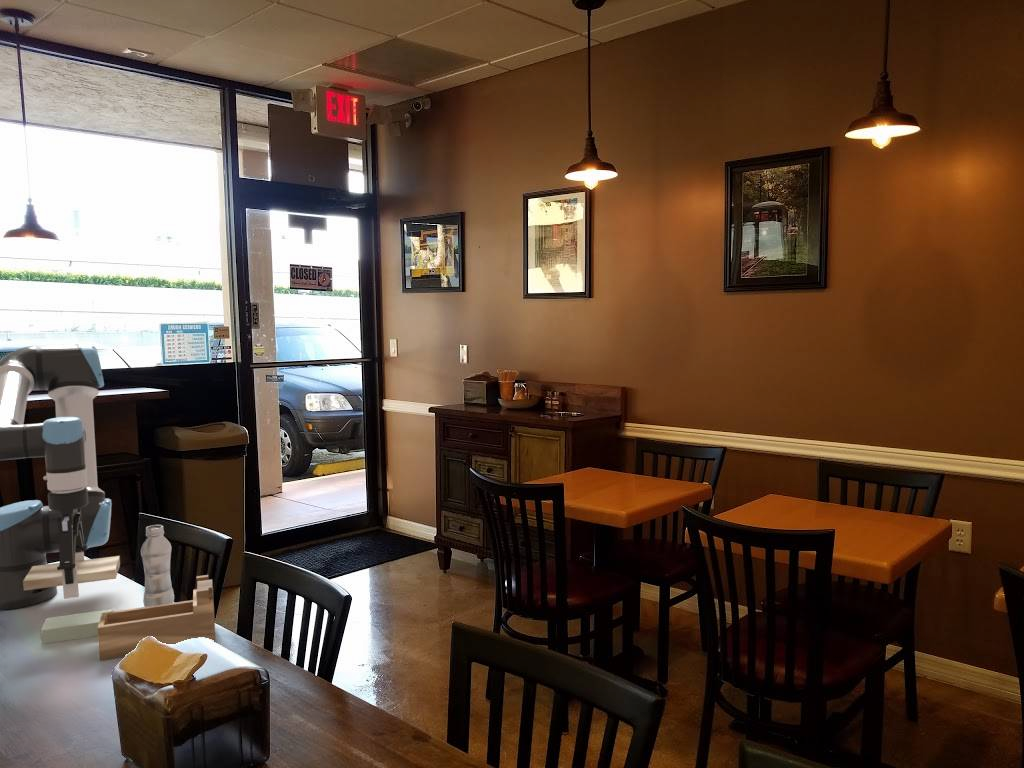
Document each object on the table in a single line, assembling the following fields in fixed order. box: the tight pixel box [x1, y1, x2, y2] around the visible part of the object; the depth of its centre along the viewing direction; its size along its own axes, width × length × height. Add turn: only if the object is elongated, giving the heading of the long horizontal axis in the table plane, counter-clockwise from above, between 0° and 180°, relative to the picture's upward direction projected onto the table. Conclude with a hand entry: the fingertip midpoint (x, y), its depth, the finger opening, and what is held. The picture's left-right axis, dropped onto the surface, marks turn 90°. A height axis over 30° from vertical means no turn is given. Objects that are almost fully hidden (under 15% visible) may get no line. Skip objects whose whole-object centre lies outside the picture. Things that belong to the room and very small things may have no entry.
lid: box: [23, 555, 121, 590], centre depth 170 cm, size 10×17×2 cm, turn 112°
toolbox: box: [97, 574, 216, 661], centre depth 165 cm, size 10×22×12 cm, turn 112°
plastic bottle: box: [140, 524, 175, 607], centre depth 183 cm, size 6×7×20 cm
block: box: [196, 578, 214, 599], centre depth 168 cm, size 5×3×2 cm, turn 22°
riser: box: [40, 608, 113, 645], centre depth 172 cm, size 7×13×3 cm, turn 112°
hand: (75, 588), depth 170 cm, fingers closed on lid, 10 cm apart
